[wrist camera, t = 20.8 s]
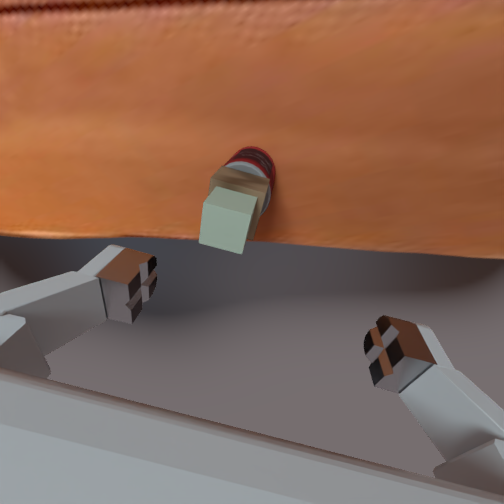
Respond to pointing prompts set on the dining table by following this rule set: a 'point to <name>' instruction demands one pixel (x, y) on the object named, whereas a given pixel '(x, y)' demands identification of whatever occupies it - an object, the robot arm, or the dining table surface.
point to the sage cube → (226, 219)
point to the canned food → (255, 167)
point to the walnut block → (242, 189)
